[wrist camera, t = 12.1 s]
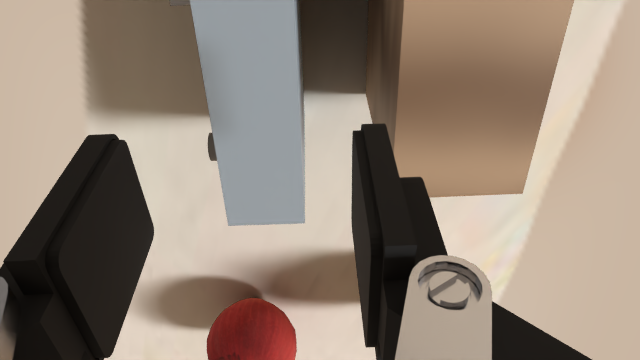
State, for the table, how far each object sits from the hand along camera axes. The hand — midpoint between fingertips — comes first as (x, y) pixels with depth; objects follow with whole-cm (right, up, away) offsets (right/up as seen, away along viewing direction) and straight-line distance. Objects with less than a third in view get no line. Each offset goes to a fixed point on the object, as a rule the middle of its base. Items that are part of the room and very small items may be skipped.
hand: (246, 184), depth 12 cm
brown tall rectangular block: (+7, +9, +11) cm, 16 cm away
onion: (-3, -9, +24) cm, 25 cm away
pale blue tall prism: (-1, +8, +12) cm, 14 cm away
